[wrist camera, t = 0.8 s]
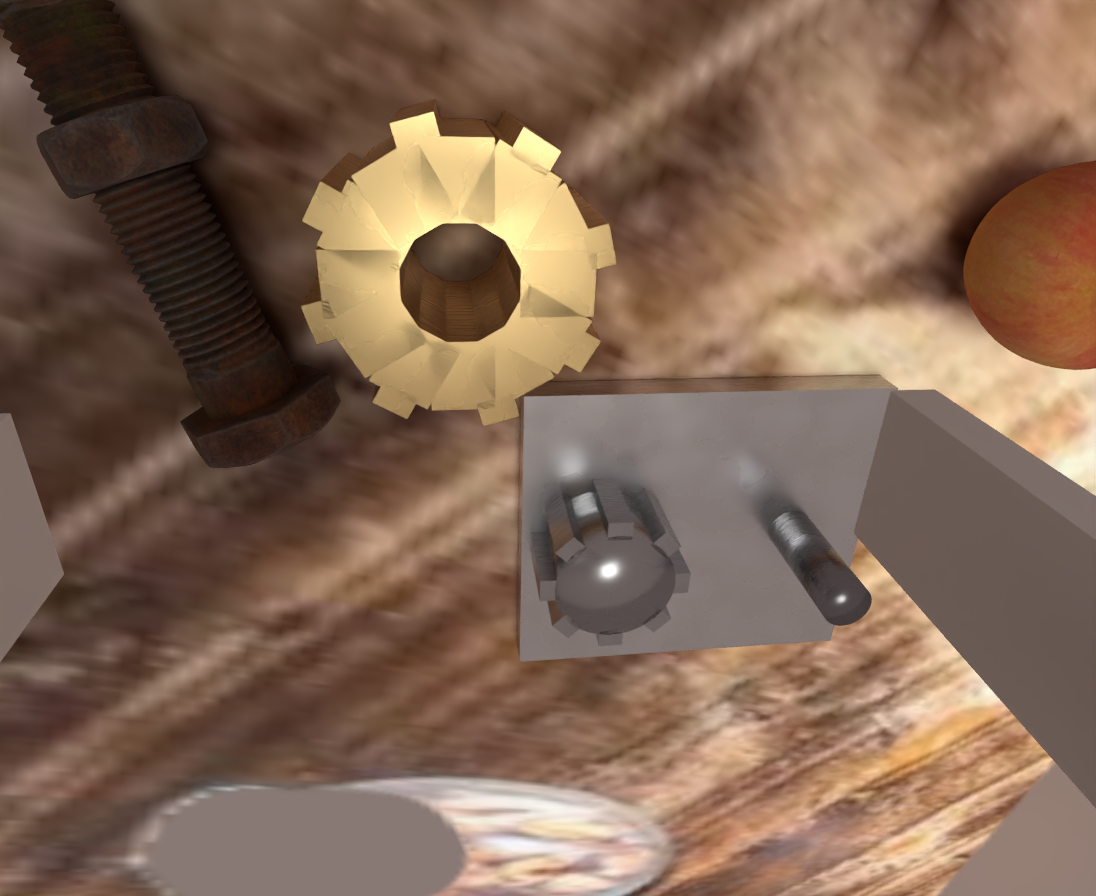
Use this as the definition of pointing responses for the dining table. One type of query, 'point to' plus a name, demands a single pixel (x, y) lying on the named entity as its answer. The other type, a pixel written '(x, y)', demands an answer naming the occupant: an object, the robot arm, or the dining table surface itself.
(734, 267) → the dining table surface
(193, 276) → the bolt
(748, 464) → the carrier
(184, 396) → the dining table surface
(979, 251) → the apple
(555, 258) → the gear
